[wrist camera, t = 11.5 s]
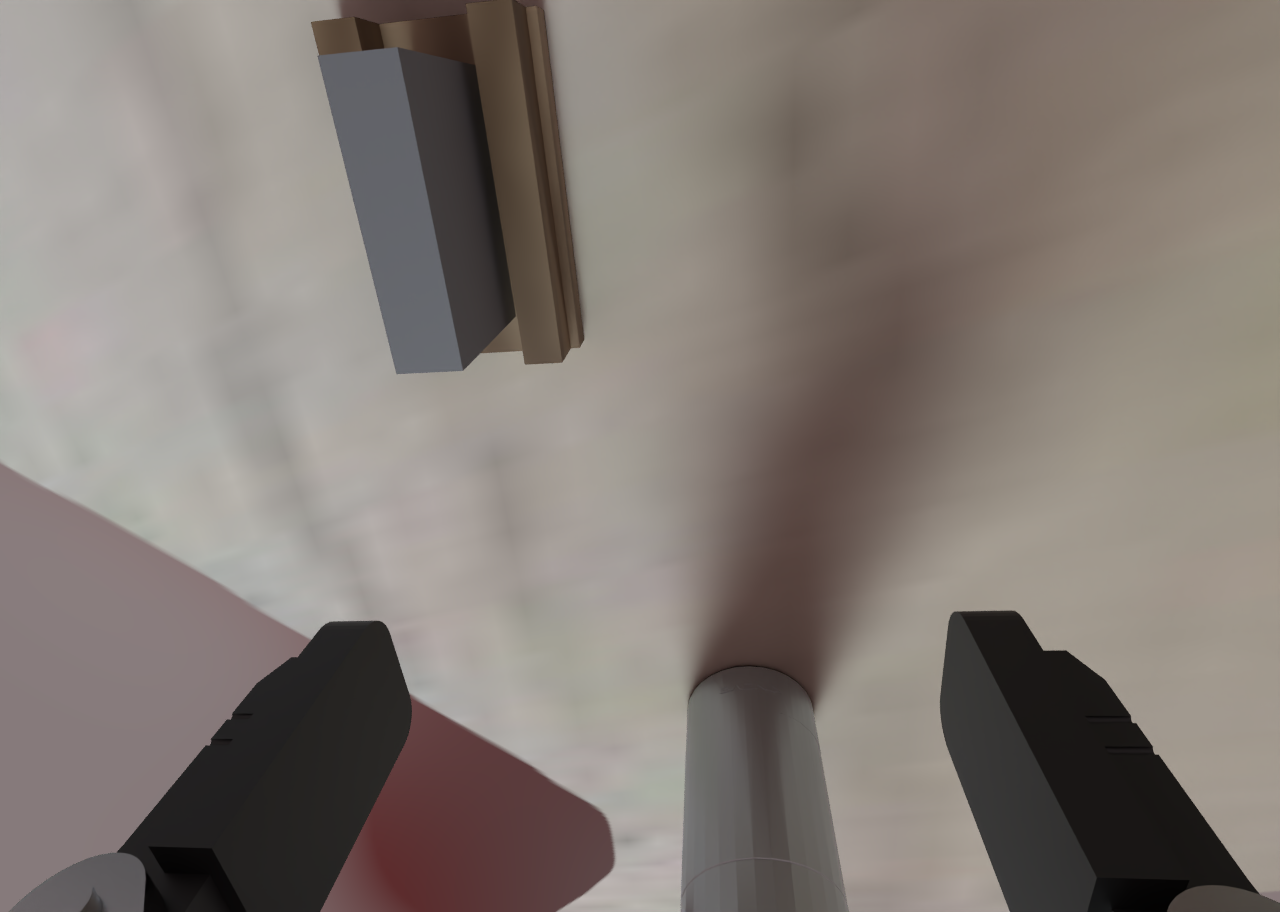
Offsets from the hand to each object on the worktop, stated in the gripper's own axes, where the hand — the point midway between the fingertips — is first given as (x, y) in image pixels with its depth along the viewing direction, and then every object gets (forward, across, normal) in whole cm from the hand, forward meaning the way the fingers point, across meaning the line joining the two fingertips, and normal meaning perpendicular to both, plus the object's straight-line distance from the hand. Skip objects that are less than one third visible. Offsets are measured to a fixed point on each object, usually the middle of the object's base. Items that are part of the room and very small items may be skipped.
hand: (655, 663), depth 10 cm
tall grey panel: (+28, +11, -5) cm, 31 cm away
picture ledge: (+30, +12, -5) cm, 32 cm away
